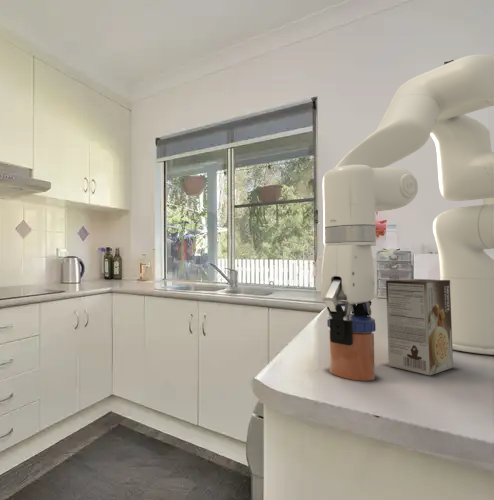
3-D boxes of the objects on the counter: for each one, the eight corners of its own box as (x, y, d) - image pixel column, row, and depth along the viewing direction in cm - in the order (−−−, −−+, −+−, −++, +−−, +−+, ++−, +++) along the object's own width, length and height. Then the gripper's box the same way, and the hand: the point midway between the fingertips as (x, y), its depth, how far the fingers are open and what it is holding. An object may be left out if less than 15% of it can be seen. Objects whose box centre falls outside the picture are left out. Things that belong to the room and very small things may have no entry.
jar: (327, 366, 62) (326, 317, 62) (370, 371, 59) (368, 319, 60) (332, 377, 56) (331, 322, 57) (379, 383, 54) (378, 326, 54)
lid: (320, 327, 59) (320, 316, 59) (338, 323, 63) (338, 313, 63) (365, 334, 53) (364, 322, 53) (382, 329, 57) (381, 318, 57)
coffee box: (410, 359, 66) (408, 278, 67) (454, 368, 61) (451, 280, 61) (387, 366, 62) (384, 279, 63) (431, 376, 57) (428, 281, 57)
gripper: (346, 240, 66) (348, 330, 66) (301, 237, 57) (303, 343, 56) (393, 238, 60) (396, 338, 60) (351, 234, 51) (354, 353, 50)
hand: (351, 339), depth 58 cm, fingers closed on lid, 6 cm apart
